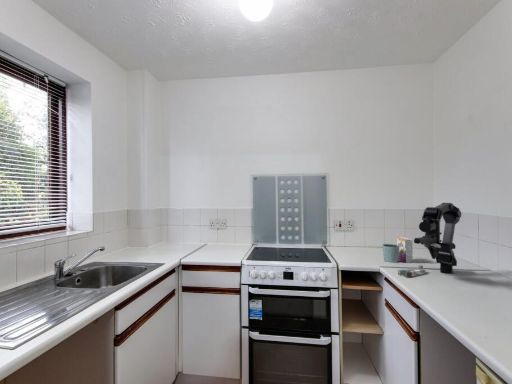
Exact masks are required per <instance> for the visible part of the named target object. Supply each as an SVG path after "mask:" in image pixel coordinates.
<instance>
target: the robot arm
mask: <svg viewBox="0 0 512 384" xmlns="http://www.w3.org/2000/svg"><path fill="white" fill-rule="evenodd" d="M421 216H422V217H421V220H422V222H420V223H419V225H418V228H419V229H418V230H420V231H421V232H423V233H424V235H423V236H421V237H414V239H413V243H414V244H419V245H422V246H423V247H425V248H426V249H427V250H428V252H429V254H430V256H431V259H433V260H435V262H436V264H439V266H440V267H439V268H440V271H439V272H440V274H446V275H447V274H449V275H450V274H451V275H452V274H453V273H454V271H453V270H454V269H453V267H457V266H458V265H457V264H458V261H457V258H456V256H455V252H454V250H455V249H457V248H456V244H455V243H454V242H453V241H454V235H455V230H456V229H455V228H456V224H458V223H459V222H460V220H461V219H460V218H461V217H462V211H461V210H460V208H459V207H457V206H455V205H454V204H453V203H452V202H442V203H441V204H438V205H436V206H434V207H433V206H431V207H430V206H427V207H425V209H424V211H423V214H422V215H421ZM441 219H443V221H444V222H445V223H444V227H443V228H444V229H443V233H442V232H441ZM442 234H443V235H442ZM441 235H442V239H441Z"/></svg>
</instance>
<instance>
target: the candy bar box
mask: <svg viewBox="0 0 512 384" xmlns="http://www.w3.org/2000/svg"><path fill="white" fill-rule="evenodd" d="M396 245H398V246H399V258H398V262H401V263H405V264H413V239H410V238H408V237H405V236H396Z"/></svg>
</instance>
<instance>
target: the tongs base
mask: <svg viewBox="0 0 512 384" xmlns="http://www.w3.org/2000/svg"><path fill="white" fill-rule="evenodd" d="M418 269H419V270H414V271H407V272H404V275H403V276H404V278H412V277H417V276H421V275H425V274H426V268H424V266H423V265H418Z"/></svg>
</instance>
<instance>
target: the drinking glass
mask: <svg viewBox="0 0 512 384" xmlns="http://www.w3.org/2000/svg"><path fill="white" fill-rule="evenodd" d="M382 253H383V263H395V264H396V263H399V260H398V258H399V246H398V245H397V244H393V243H384V244H382Z"/></svg>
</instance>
